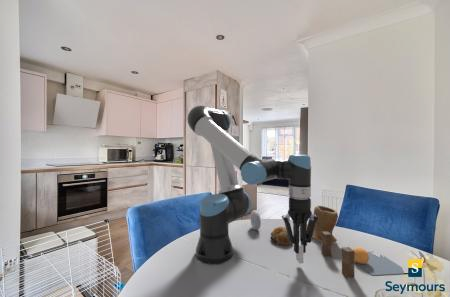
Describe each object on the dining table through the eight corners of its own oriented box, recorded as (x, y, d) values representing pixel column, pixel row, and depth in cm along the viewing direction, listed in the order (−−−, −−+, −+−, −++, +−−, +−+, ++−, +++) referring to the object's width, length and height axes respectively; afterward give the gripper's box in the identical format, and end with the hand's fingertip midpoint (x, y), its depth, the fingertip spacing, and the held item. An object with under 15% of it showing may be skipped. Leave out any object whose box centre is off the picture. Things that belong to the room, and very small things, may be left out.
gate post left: (325, 257, 79) (325, 234, 79) (321, 253, 82) (321, 231, 81) (331, 256, 79) (331, 234, 79) (327, 253, 82) (327, 231, 82)
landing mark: (371, 275, 68) (371, 275, 68) (344, 253, 82) (344, 252, 82) (410, 273, 69) (410, 272, 69) (376, 251, 83) (376, 251, 83)
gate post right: (346, 278, 66) (347, 251, 66) (341, 273, 69) (341, 247, 69) (354, 277, 67) (354, 251, 66) (349, 272, 69) (349, 247, 69)
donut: (249, 225, 110) (249, 207, 110) (255, 225, 111) (255, 207, 110) (255, 233, 100) (255, 214, 100) (261, 233, 101) (261, 213, 100)
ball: (373, 252, 72) (372, 267, 72) (361, 244, 78) (361, 258, 78) (359, 252, 72) (358, 267, 72) (348, 244, 77) (347, 258, 77)
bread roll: (290, 254, 88) (298, 239, 87) (268, 242, 89) (276, 227, 89) (288, 243, 97) (295, 229, 96) (268, 233, 99) (275, 219, 98)
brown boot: (344, 243, 90) (344, 210, 89) (322, 247, 86) (322, 213, 86) (319, 229, 104) (319, 201, 104) (300, 232, 101) (300, 203, 101)
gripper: (286, 200, 68) (286, 268, 69) (322, 199, 69) (322, 266, 70) (278, 194, 76) (278, 256, 76) (311, 194, 77) (311, 254, 77)
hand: (299, 261), depth 73 cm, fingers closed
